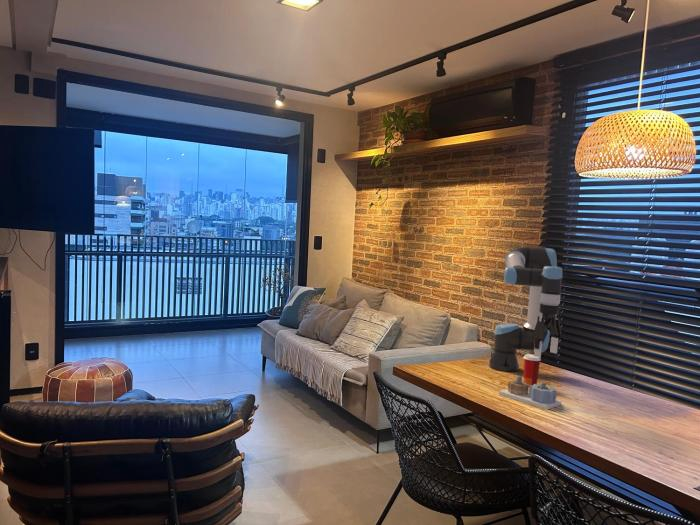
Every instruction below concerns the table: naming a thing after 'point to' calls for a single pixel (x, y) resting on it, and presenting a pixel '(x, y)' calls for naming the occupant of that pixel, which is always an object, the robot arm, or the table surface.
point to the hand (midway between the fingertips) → (545, 354)
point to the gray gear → (542, 394)
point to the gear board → (526, 398)
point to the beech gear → (518, 388)
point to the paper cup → (531, 369)
